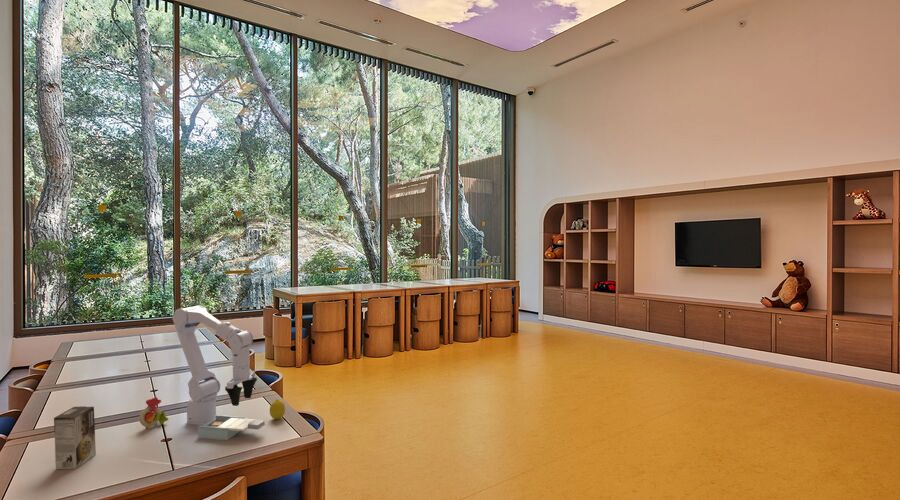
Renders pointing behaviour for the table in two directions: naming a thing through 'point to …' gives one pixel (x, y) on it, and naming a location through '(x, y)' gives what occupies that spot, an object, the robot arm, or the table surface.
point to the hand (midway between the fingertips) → (241, 401)
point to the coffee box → (74, 437)
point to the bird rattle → (152, 414)
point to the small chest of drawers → (242, 424)
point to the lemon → (277, 409)
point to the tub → (217, 429)
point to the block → (216, 424)
